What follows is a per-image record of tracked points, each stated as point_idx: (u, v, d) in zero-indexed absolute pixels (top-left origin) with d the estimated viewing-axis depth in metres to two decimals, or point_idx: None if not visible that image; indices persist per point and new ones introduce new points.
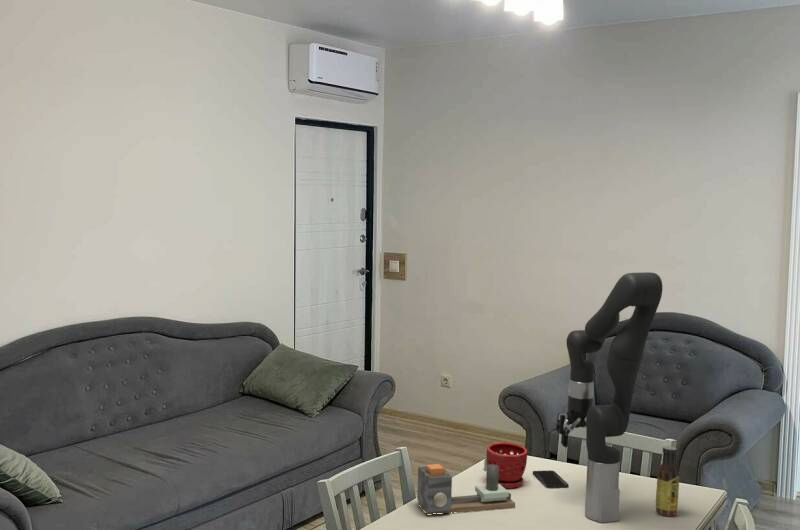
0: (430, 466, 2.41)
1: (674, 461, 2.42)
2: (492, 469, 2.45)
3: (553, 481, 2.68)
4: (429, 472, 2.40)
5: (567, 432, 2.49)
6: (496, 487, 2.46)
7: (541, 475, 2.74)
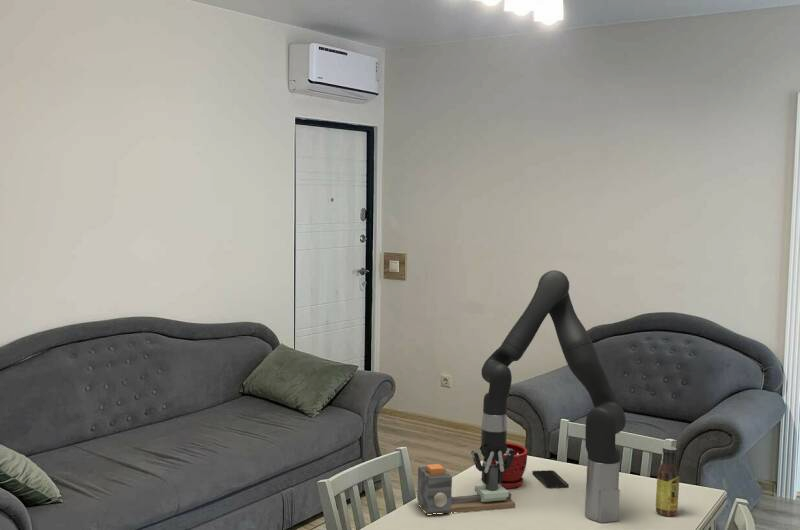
0: (430, 466, 2.41)
1: (674, 461, 2.42)
2: (492, 469, 2.45)
3: (553, 481, 2.68)
4: (429, 472, 2.40)
5: (486, 469, 2.45)
6: (496, 487, 2.46)
7: (541, 475, 2.74)
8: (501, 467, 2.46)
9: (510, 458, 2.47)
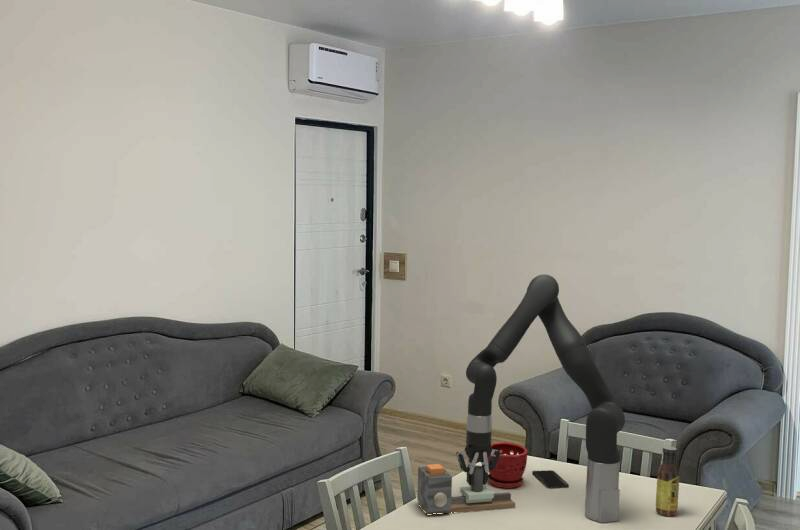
0: (430, 466, 2.41)
1: (674, 461, 2.42)
2: (477, 470, 2.43)
3: (553, 481, 2.68)
4: (429, 472, 2.40)
5: (471, 470, 2.43)
6: (481, 488, 2.44)
7: (541, 475, 2.74)
8: (486, 468, 2.45)
9: (495, 459, 2.45)
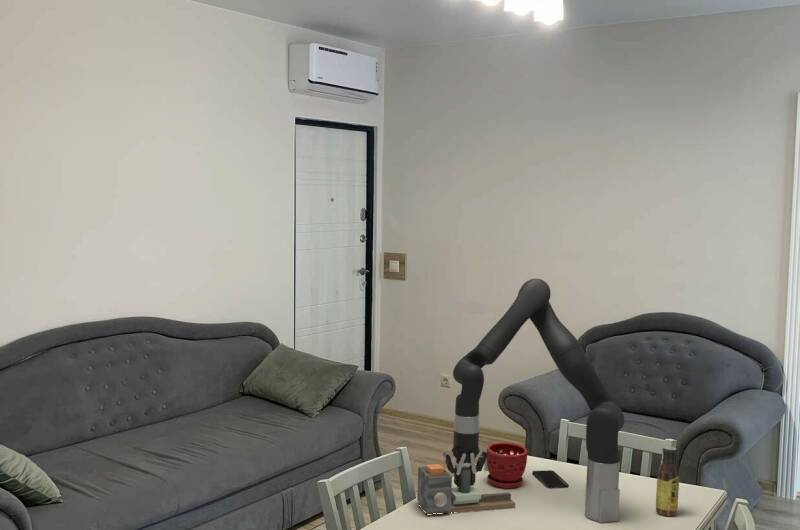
0: (430, 466, 2.41)
1: (674, 461, 2.42)
2: (464, 471, 2.42)
3: (553, 481, 2.68)
4: (429, 472, 2.40)
5: (458, 471, 2.42)
6: (468, 489, 2.43)
7: (541, 475, 2.74)
8: (473, 469, 2.44)
9: (483, 460, 2.44)
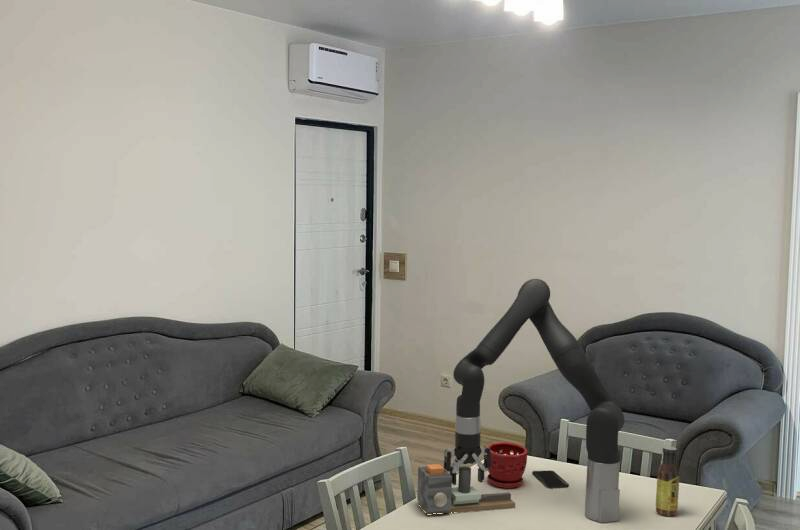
0: (430, 466, 2.41)
1: (674, 461, 2.42)
2: (464, 471, 2.42)
3: (553, 481, 2.68)
4: (429, 472, 2.40)
5: (455, 469, 2.42)
6: (468, 489, 2.43)
7: (541, 475, 2.74)
8: (481, 466, 2.44)
9: (488, 456, 2.45)
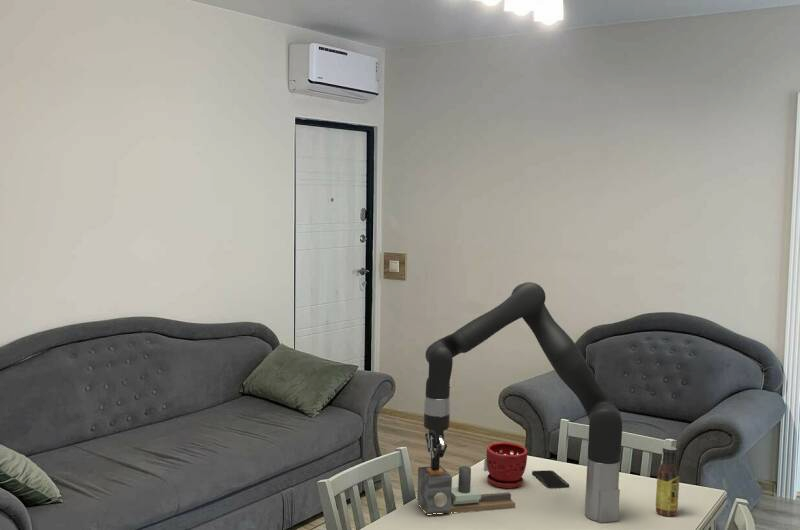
0: (430, 469, 2.41)
1: (674, 461, 2.42)
2: (464, 471, 2.42)
3: (553, 481, 2.68)
4: None
5: (430, 452, 2.41)
6: (468, 489, 2.43)
7: (541, 475, 2.74)
8: (432, 453, 2.40)
9: (436, 449, 2.36)
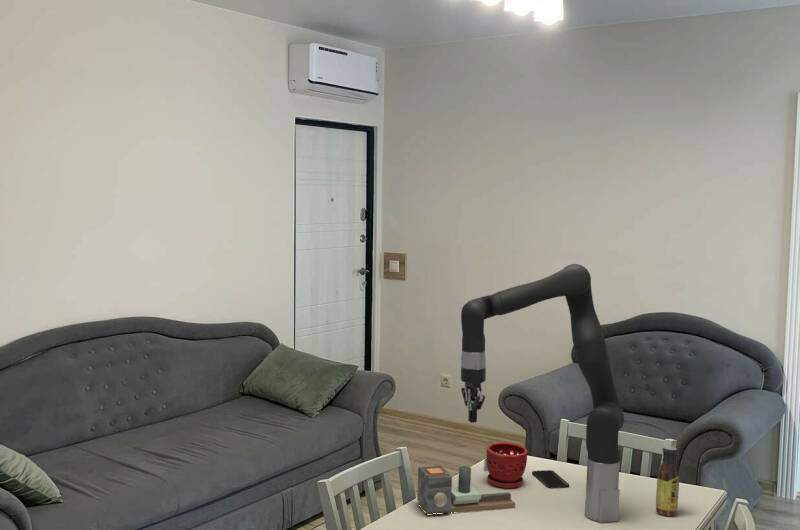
0: (430, 470, 2.41)
1: (674, 461, 2.42)
2: (464, 471, 2.42)
3: (553, 481, 2.68)
4: None
5: (467, 405, 2.50)
6: (468, 489, 2.43)
7: (541, 475, 2.74)
8: (470, 406, 2.48)
9: (475, 401, 2.45)
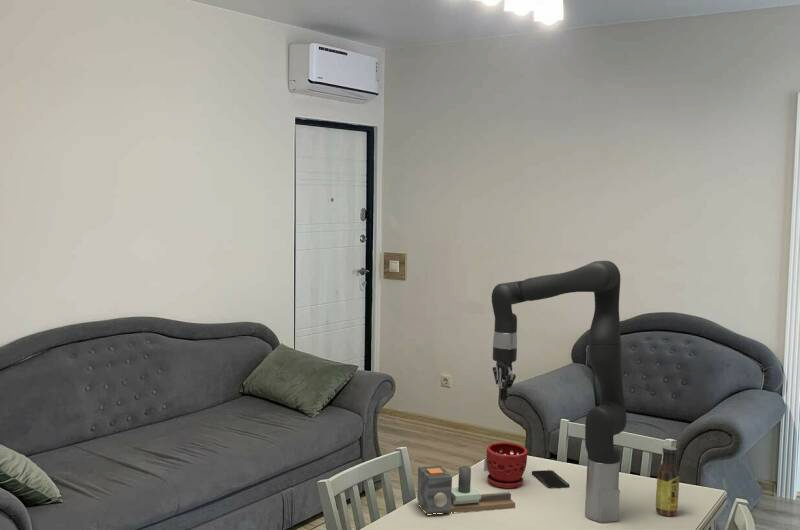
0: (430, 470, 2.41)
1: (674, 461, 2.42)
2: (464, 471, 2.42)
3: (553, 481, 2.68)
4: None
5: (498, 383, 2.59)
6: (468, 489, 2.43)
7: (541, 475, 2.74)
8: (501, 384, 2.58)
9: (505, 380, 2.54)
